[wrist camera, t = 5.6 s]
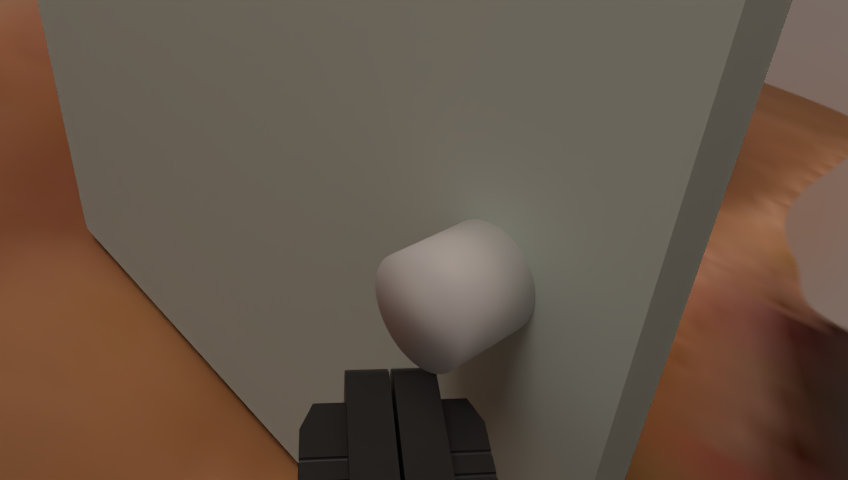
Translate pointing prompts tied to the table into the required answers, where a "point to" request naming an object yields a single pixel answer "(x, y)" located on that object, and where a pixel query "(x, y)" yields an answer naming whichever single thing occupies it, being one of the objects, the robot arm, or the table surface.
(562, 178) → the sage door
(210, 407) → the table surface
